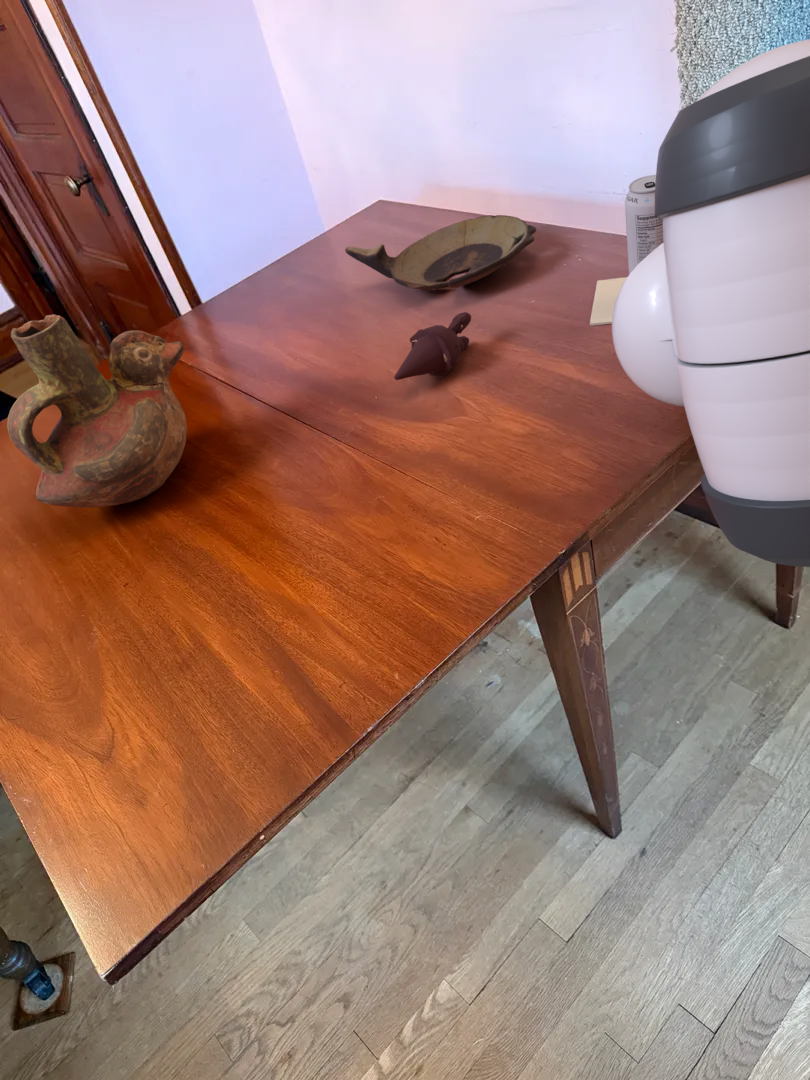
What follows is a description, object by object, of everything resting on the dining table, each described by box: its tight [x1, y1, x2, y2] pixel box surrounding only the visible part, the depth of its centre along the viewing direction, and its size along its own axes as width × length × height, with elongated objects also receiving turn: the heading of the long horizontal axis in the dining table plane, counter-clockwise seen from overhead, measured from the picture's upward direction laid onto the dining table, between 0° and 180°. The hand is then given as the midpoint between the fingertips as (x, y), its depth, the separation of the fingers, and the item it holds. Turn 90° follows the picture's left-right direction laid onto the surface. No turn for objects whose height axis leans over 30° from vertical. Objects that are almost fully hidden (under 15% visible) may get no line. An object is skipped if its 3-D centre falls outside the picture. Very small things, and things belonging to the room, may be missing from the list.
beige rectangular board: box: [589, 276, 628, 327], centre depth 102 cm, size 16×12×1 cm
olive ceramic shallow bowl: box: [344, 214, 537, 290], centre depth 122 cm, size 22×30×8 cm
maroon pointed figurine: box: [393, 311, 472, 381], centre depth 101 cm, size 7×7×15 cm
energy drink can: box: [624, 174, 664, 275], centre depth 97 cm, size 6×6×15 cm
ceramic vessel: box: [6, 314, 188, 508], centre depth 94 cm, size 17×26×25 cm, turn 132°
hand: (733, 171), depth 80 cm, fingers open, 8 cm apart
